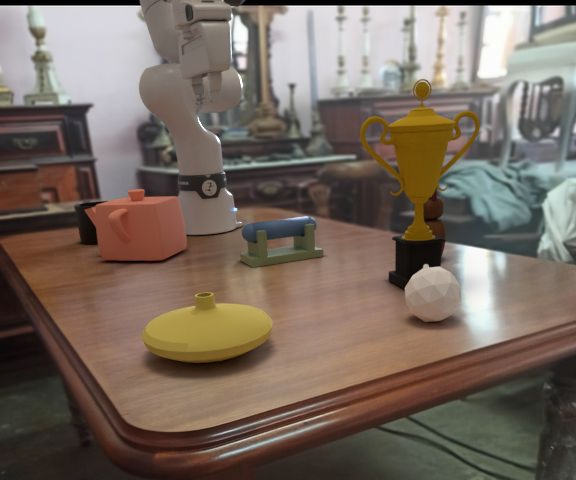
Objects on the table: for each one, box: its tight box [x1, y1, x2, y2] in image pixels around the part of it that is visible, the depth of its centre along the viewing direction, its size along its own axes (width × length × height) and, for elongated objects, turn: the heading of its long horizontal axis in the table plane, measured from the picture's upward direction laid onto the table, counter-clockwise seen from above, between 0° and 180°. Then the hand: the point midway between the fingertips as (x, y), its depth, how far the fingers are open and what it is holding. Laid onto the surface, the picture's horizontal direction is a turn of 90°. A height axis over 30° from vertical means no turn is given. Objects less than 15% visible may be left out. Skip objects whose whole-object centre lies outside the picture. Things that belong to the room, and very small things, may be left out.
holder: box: [239, 224, 324, 268], centre depth 115 cm, size 7×15×6 cm, turn 114°
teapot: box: [85, 188, 188, 262], centre depth 124 cm, size 20×22×14 cm
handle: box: [241, 215, 317, 243], centre depth 115 cm, size 16×4×4 cm, turn 114°
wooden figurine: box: [423, 188, 447, 257], centre depth 106 cm, size 7×6×15 cm
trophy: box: [359, 78, 481, 290], centre depth 89 cm, size 19×10×30 cm, turn 105°
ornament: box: [404, 264, 462, 323], centre depth 77 cm, size 7×7×8 cm
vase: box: [141, 291, 274, 364], centre depth 70 cm, size 16×16×7 cm
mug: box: [74, 200, 109, 245], centre depth 145 cm, size 9×12×9 cm
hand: (207, 103), depth 105 cm, fingers open, 8 cm apart
